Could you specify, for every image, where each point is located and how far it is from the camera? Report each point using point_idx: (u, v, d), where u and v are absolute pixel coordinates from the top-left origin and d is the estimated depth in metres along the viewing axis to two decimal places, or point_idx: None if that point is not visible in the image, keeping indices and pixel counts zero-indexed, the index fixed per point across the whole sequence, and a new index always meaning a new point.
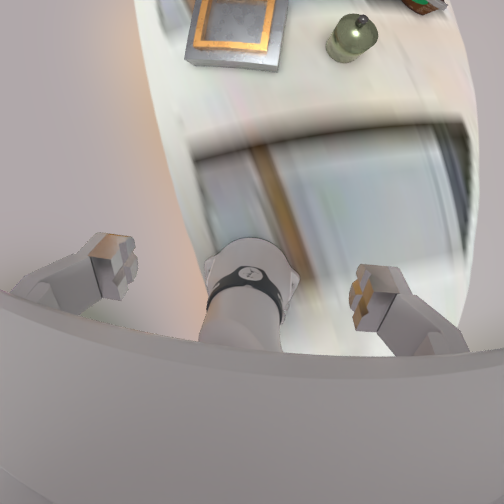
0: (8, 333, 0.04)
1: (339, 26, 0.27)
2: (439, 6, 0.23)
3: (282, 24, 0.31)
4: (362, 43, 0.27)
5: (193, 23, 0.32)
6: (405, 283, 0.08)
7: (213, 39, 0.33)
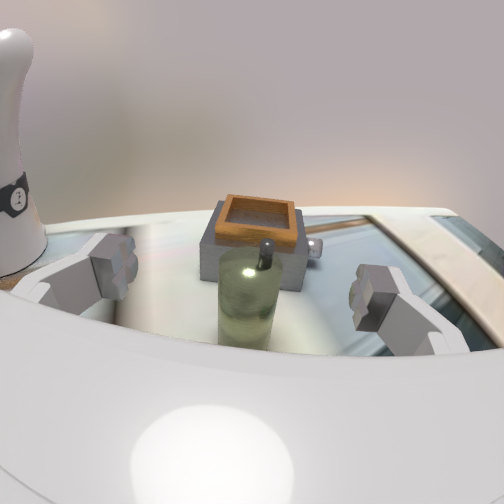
0: (8, 333, 0.04)
1: (251, 247, 0.27)
2: None
3: None
4: (228, 266, 0.24)
5: None
6: (405, 283, 0.08)
7: (236, 212, 0.44)
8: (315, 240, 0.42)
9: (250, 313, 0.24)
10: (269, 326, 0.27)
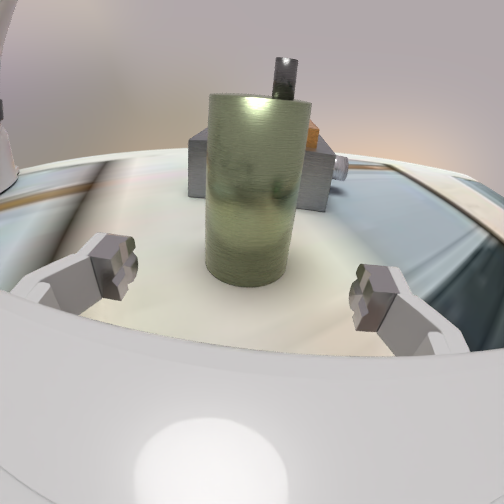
0: (8, 333, 0.04)
1: (260, 95, 0.16)
2: None
3: None
4: (224, 94, 0.13)
5: None
6: (405, 283, 0.08)
7: None
8: (338, 156, 0.31)
9: (260, 164, 0.13)
10: (291, 212, 0.16)
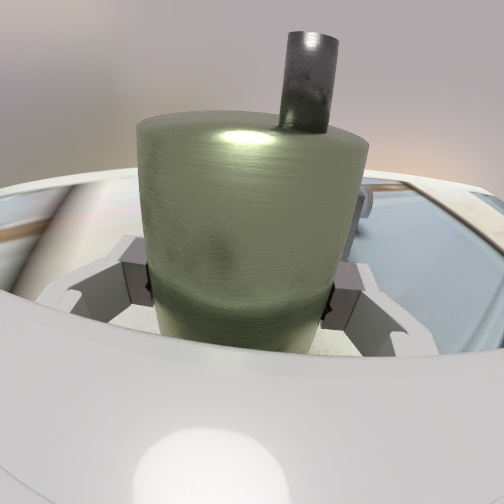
0: (8, 333, 0.04)
1: (254, 112, 0.09)
2: None
3: None
4: (168, 121, 0.06)
5: None
6: (373, 280, 0.08)
7: None
8: (360, 186, 0.24)
9: (251, 304, 0.06)
10: (308, 347, 0.09)
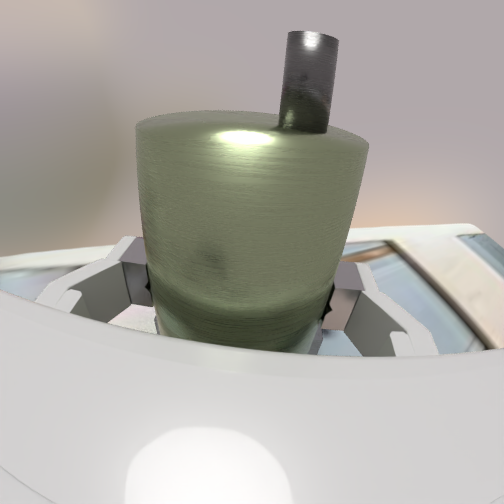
0: (8, 333, 0.04)
1: (254, 112, 0.09)
2: None
3: None
4: (167, 122, 0.06)
5: None
6: (372, 280, 0.08)
7: None
8: None
9: (250, 305, 0.06)
10: (308, 348, 0.09)
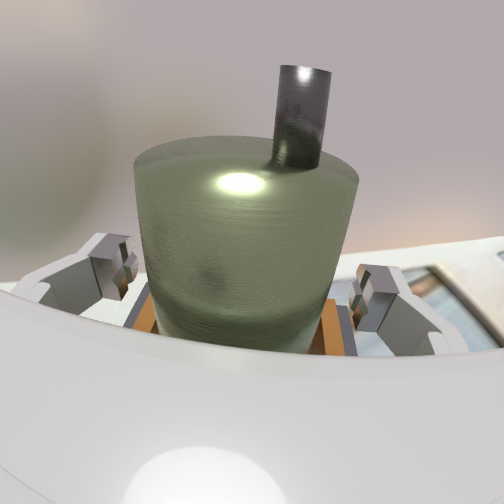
0: (8, 333, 0.04)
1: (249, 137, 0.09)
2: None
3: None
4: (164, 159, 0.06)
5: None
6: (405, 283, 0.08)
7: None
8: None
9: (245, 333, 0.06)
10: None
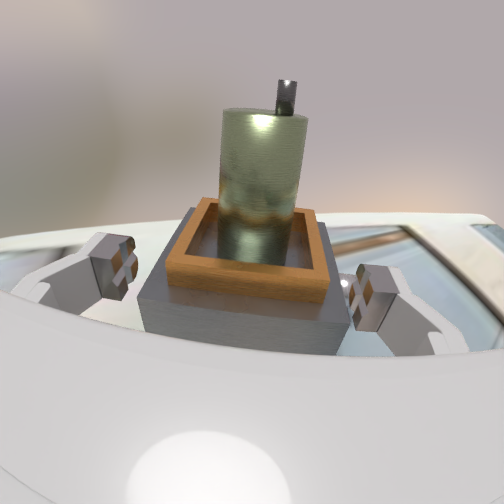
0: (8, 333, 0.04)
1: (264, 109, 0.19)
2: None
3: (245, 311, 0.18)
4: (235, 111, 0.17)
5: None
6: (405, 283, 0.08)
7: (215, 229, 0.26)
8: (351, 279, 0.24)
9: (266, 170, 0.17)
10: (291, 209, 0.19)
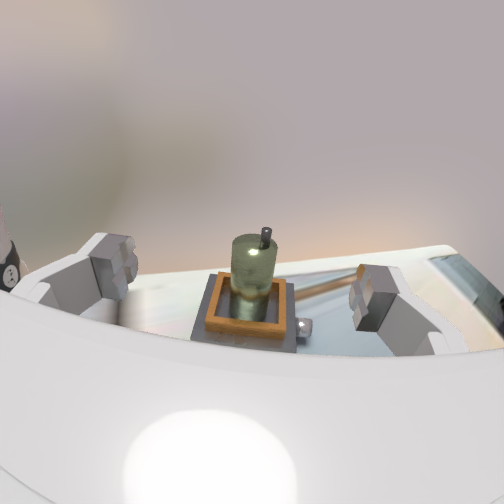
0: (8, 333, 0.04)
1: (255, 234, 0.38)
2: None
3: (244, 344, 0.36)
4: (239, 246, 0.35)
5: None
6: (405, 283, 0.08)
7: (227, 292, 0.44)
8: (305, 322, 0.42)
9: (254, 280, 0.35)
10: (268, 292, 0.38)
